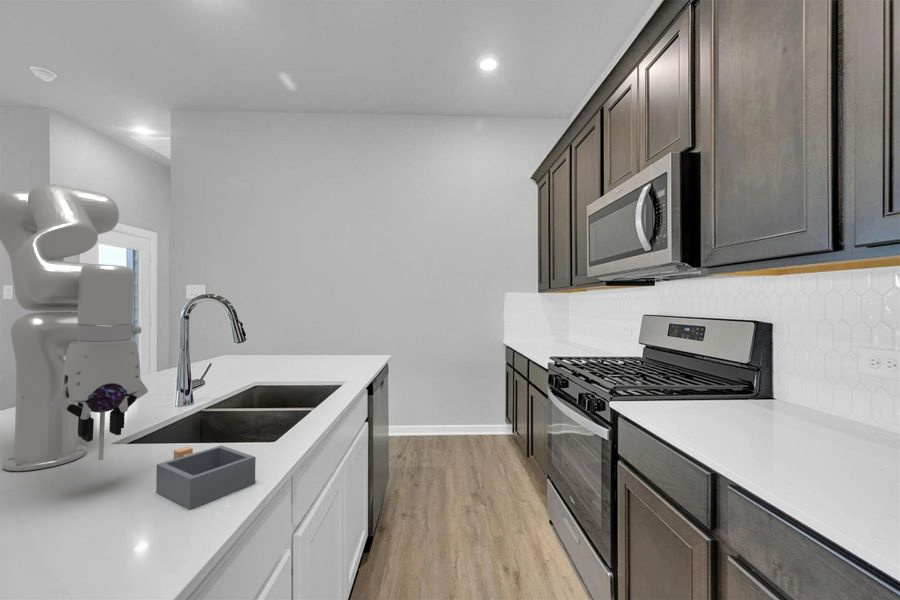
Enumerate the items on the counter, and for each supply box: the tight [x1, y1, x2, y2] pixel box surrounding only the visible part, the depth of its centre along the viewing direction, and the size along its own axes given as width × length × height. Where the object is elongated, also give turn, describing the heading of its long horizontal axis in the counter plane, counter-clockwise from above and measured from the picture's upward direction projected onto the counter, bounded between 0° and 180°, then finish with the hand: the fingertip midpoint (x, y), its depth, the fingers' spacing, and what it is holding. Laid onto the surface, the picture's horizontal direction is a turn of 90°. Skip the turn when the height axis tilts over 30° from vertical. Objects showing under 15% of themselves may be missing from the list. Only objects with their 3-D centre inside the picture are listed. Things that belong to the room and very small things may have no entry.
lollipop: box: [81, 383, 127, 461], centre depth 71 cm, size 7×7×15 cm
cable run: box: [173, 446, 195, 459], centre depth 83 cm, size 16×4×2 cm, turn 43°
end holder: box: [155, 445, 256, 511], centre depth 74 cm, size 12×12×5 cm
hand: (101, 435), depth 71 cm, fingers closed on lollipop, 3 cm apart
